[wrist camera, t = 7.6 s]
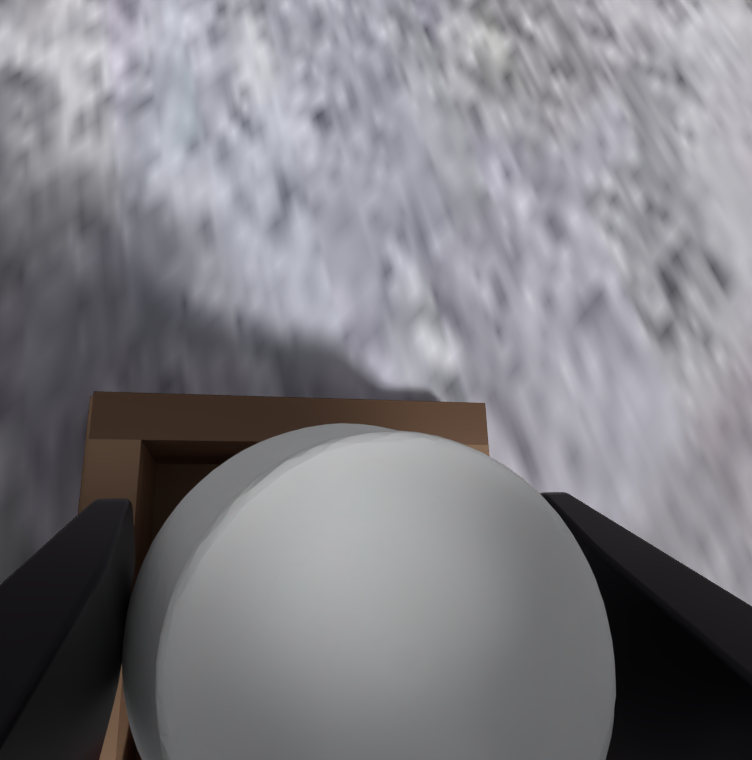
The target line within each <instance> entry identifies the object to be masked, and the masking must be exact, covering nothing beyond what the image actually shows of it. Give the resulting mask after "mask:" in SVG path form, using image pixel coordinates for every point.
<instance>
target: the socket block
mask: <svg viewBox="0 0 752 760" xmlns="http://www.w3.org/2000/svg"><path fill="white" fill-rule="evenodd" d="M338 423H347V424H365V425H373V426H379V427H384V428H388V429H393V430H397V431H410V432H420V433H425V434H430V435H436V436H440V437H443V438H446V439H449V440H453V441H455V442H458V443H461V444H464V445H466V446H468V447H471V448H473V449H475V450H478V451H480V452H482V453H484V454H486V455H488V456H489V446H488V433H487V421H486V408H485V403H467V402H433V401H399V400H366V399H332V398H298V397H265V396H231V395H198V394H164V393H130V392H97V391H94V394H93V396H90V403H89V412H88V422H87V431H86V441H85V451H84V460H83V470H82V479H81V489H80V498H79V508H78V515H79V514H80V513H81V512H82V511H83V510H84V509H85V508H86V507H87V506H89V505H90V504H91V503H92V502H93V501H95V500H97V499H124V498H125V499H128V500H130V502H131V503H132V507H133V520H134V536H135V569H134V576H133V584H132V591H133V588H134V585H135V582H136V579H137V576H138V573H139V570H140V568H141V566H142V563H143V561H144V559H145V557H146V555H147V553H148V550H149V548H150V546H151V544H152V542H153V540H154V539H155V537H156V536H157V534H158V532H159V531H160V529H161V528H162V526H163V525H164V523H165V521H166V520H167V519H168V517H169V516H170V515H171V513H172V512H173V511H174V509H175V508H176V507H177V505H178V504H179V503H180V502H181V501H182V499H183V498H184V497H185V496H186V495H187V494H188V493H189V492H190V491H191V490H192V489H193V488H194V487H195V486H196V485H197V484H198V483H199V482H200V481H201V480H203V479H204V478H205V477H206V476H207V475H208V474H209V473H210V472H212V471H213V470H214V469H216V468H217V467H218V466H220V465H221V464H223V463H224V462H226V461H227V460H228V459H230V458H231V457H233V456H234V455H236V454H238V453H239V452H241V451H243V450H245V449H247V448H249V447H251V446H253V445H255V444H257V443H259V442H262V441H264V440H267V439H269V438H272V437H274V436H278V435H281V434H284V433H287V432H290V431H294V430H298V429H302V428H306V427H312V426H319V425H325V424H338ZM132 591H131V594H132ZM99 760H142V759H141V757H140V754H139V752H138V750H137V747H136V744H135V741H134V738H133V735H132V732H131V728H130V724H129V720H128V715H127V710H126V704H125V699H124V693H123V680H122V665H121V671H120V677H119V683H118V688H117V692H116V696H115V701H114V705H113V709H112V713H111V716H110V720H109V724H108V728H107V732H106V736H105V739H104V743H103V747H102V751H101V755H100V759H99Z"/></svg>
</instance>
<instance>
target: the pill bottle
mask: <svg viewBox="0 0 752 760" xmlns="http://www.w3.org/2000/svg"><path fill="white" fill-rule="evenodd" d="M122 680H123V693H124V699H125V704H126V710H127V715H128V720H129V724H130V728H131V732H132V735H133V738H134V741H135V744H136V747H137V750H138V752H139V754H140V757H141V759H142V760H606V756H607V752H608V748H609V744H610V740H611V735H612V728H613V722H614V705H615V699H616V678H615V660H614V652H613V644H612V637H611V633H610V628H609V623H608V618H607V614H606V610H605V606H604V602H603V599H602V596H601V594H600V591H599V588H598V585H597V582H596V579H595V577H594V574H593V572H592V570H591V568H590V565H589V563H588V561H587V559H586V558H585V556H584V554H583V552H582V550H581V548H580V546H579V545H578V543H577V541H576V540H575V538H574V536H573V534H572V533H571V531H570V530H569V528H568V527H567V526H566V524H565V523H564V521H563V520H562V518H561V517H560V516H559V514H558V513H557V512H556V511H555V510H554V509H553V508H552V506H551V505H550V504H549V503H548V502H547V501H546V500H545V499H544V498H543V496H542V495H541V494H540V493H539V492H538V491H536V490H535V489H534V488H533V487H532V486H531V485H530V484H529V483H527V482H526V481H525V480H524V479H523V478H521V477H520V476H519V475H517V474H516V473H515V472H513V471H512V470H510V469H509V468H508V467H506V466H505V465H503V464H501V463H500V462H498V461H496V460H495V459H493V458H491V457H489V456H488V455H486V454H484V453H482V452H480V451H478V450H475V449H473V448H471V447H468V446H466V445H464V444H461V443H458V442H455V441H453V440H449V439H446V438H443V437H440V436H436V435H430V434H425V433H420V432H410V431H397V430H393V429H388V428H384V427H379V426H373V425H365V424H347V423H338V424H325V425H319V426H312V427H306V428H302V429H298V430H294V431H290V432H287V433H284V434H281V435H278V436H274V437H272V438H269V439H267V440H264V441H262V442H259V443H257V444H255V445H253V446H251V447H249V448H247V449H245V450H243V451H241V452H239V453H238V454H236V455H234V456H233V457H231V458H230V459H228V460H227V461H226V462H224V463H223V464H221V465H220V466H218V467H217V468H216V469H214V470H213V471H212V472H210V473H209V474H208V475H207V476H206V477H205V478H204V479H203V480H201V481H200V482H199V483H198V484H197V485H196V486H195V487H194V488H193V489H192V490H191V491H190V492H189V493H188V494H187V495H186V496H185V497H184V498H183V499H182V501H181V502H180V503H179V504H178V505H177V507H176V508H175V509H174V511H173V512H172V513H171V515H170V516H169V517H168V519H167V520H166V521H165V523H164V525H163V526H162V528H161V529H160V531H159V532H158V534H157V536H156V537H155V539H154V540H153V542H152V544H151V546H150V548H149V550H148V553H147V555H146V557H145V559H144V561H143V563H142V566H141V568H140V570H139V573H138V576H137V579H136V582H135V585H134V588H133V591H132V594H131V597H130V601H129V606H128V610H127V615H126V622H125V628H124V637H123V651H122Z"/></svg>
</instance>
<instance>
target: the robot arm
mask: <svg viewBox="0 0 752 760" xmlns="http://www.w3.org/2000/svg"><path fill="white" fill-rule="evenodd" d="M540 494H541V495H542V496H543V498H544V499H545V500H546V501H547V502H548V503H549V504H550V505H551V506H552V508H553V509H554V510H555V511H556V512H557V513H558V514H559V516H560V517H561V518H562V520H563V521H564V523H565V524H566V526H567V527H568V528H569V530H570V531H571V533H572V534H573V536H574V538H575V540H576V541H577V543H578V545H579V546H580V548H581V550H582V552H583V554H584V556H585V558H586V559H587V561H588V563H589V565H590V568H591V570H592V572H593V574H594V577H595V579H596V582H597V585H598V588H599V591H600V594H601V596H602V599H603V602H604V606H605V610H606V614H607V618H608V623H609V628H610V633H611V637H612V644H613V652H614V660H615V678H616V699H615V705H614V722H613V728H612V735H611V740H610V744H609V748H608V752H607V756H606V760H752V606H750V605H749V604H747V603H746V602H744V601H742V600H741V599H739V598H737V597H736V596H734V595H733V594H731V593H729V592H728V591H726V590H724V589H723V588H721V587H719V586H718V585H716V584H715V583H713V582H711V581H710V580H708V579H706V578H705V577H703V576H702V575H700V574H698V573H697V572H695V571H693V570H692V569H690V568H689V567H687V566H685V565H684V564H682V563H680V562H679V561H677V560H675V559H674V558H672V557H671V556H669V555H667V554H666V553H664V552H662V551H661V550H659V549H658V548H656V547H654V546H653V545H651V544H649V543H648V542H646V541H645V540H643V539H641V538H640V537H638V536H636V535H635V534H633V533H631V532H630V531H628V530H627V529H625V528H623V527H622V526H620V525H618V524H617V523H615V522H614V521H612V520H610V519H609V518H607V517H605V516H604V515H602V514H601V513H599V512H597V511H596V510H594V509H592V508H591V507H589V506H588V505H586V504H584V503H583V502H581V501H579V500H578V499H576V498H574V497H573V496H571V495H570V494H568V493H564V492H545V493H540ZM134 569H135V536H134V520H133V507H132V503H131V502H130V500H128V499H125V498H124V499H97V500H95V501H93V502H92V503H91V504H90V505H89V506H87V507H86V508H85V509H84V510H83V511H82V512H81V513H80V514H79V515H77V516H76V517H75V518H74V519H73V520H72V521H71V522H70V523H69V524H67V525H66V526H65V527H64V528H63V529H62V530H61V531H60V532H59V533H57V534H56V535H55V536H54V537H53V538H52V539H51V540H50V541H48V542H47V543H46V544H45V545H44V546H43V547H42V548H41V549H40V550H38V551H37V552H36V553H35V554H34V555H33V556H32V557H31V558H30V559H28V560H27V561H26V562H25V563H24V564H23V565H22V566H21V567H20V568H18V569H17V570H16V571H15V572H14V573H13V574H12V575H11V576H10V577H8V578H7V579H6V580H5V581H4V582H3V583H2V584H1V585H0V760H99V759H100V755H101V751H102V747H103V743H104V739H105V736H106V732H107V728H108V724H109V720H110V716H111V713H112V709H113V705H114V701H115V696H116V692H117V688H118V683H119V677H120V671H121V665H122V651H123V637H124V628H125V622H126V615H127V610H128V606H129V601H130V597H131V591H132V584H133V576H134Z"/></svg>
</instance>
